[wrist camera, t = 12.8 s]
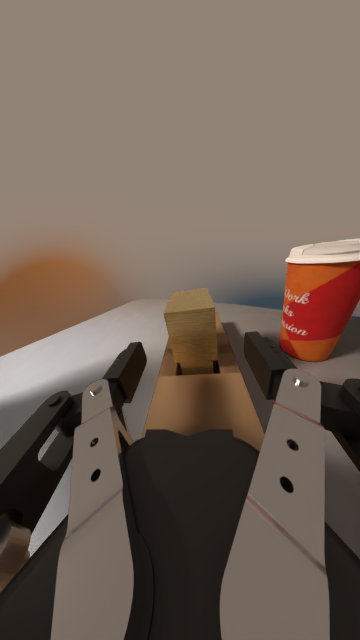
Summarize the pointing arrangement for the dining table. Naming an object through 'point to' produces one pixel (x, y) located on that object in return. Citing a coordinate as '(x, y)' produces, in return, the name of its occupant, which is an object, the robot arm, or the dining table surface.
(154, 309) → the dining table surface
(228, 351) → the brown flat wooden block
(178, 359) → the tan boxy piece
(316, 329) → the paper cup
